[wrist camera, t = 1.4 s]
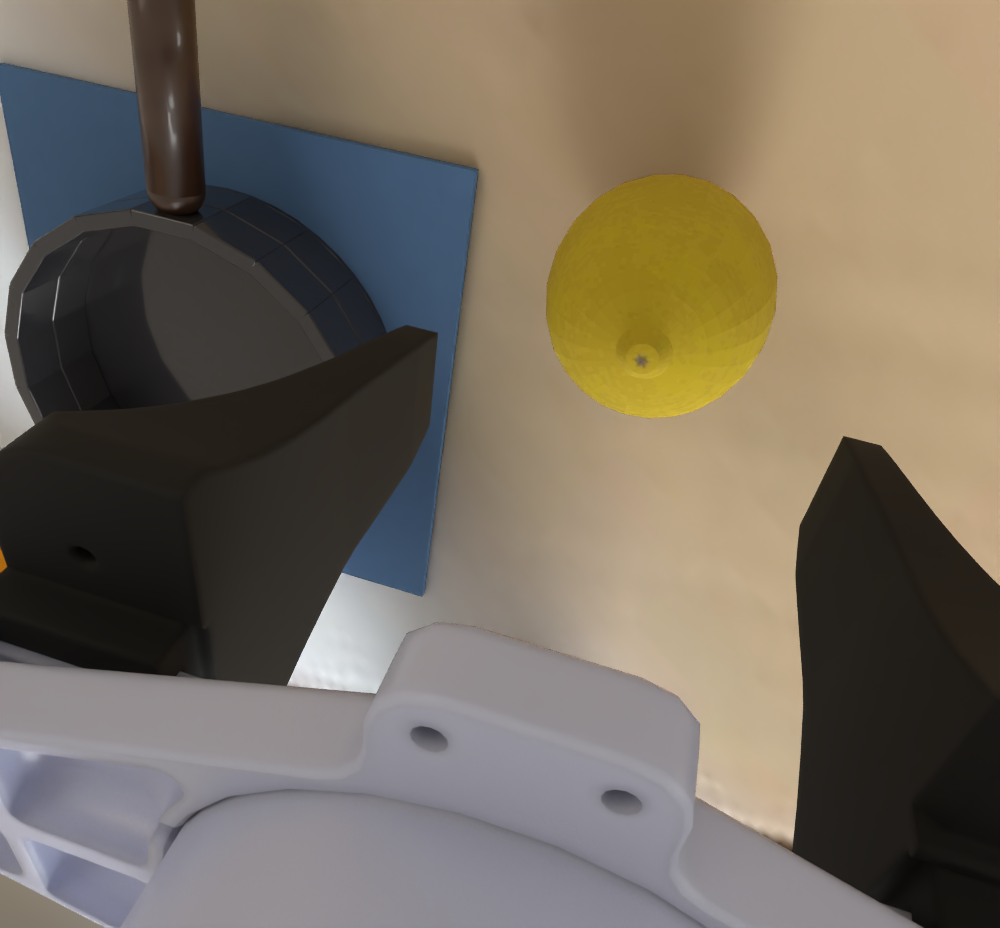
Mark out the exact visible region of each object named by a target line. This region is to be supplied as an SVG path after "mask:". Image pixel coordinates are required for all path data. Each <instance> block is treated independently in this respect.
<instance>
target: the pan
mask: <svg viewBox="0 0 1000 928" xmlns="http://www.w3.org/2000/svg"><path fill="white" fill-rule="evenodd" d="M386 333H387V332H386V329H385V327H384V324H383V321H382V319H381V317H380V315H379V313H378V311H377V310H376V308H375V306H374V304H373V302H372V300H371V298H370V296H369V295H368V293H367V292H366V290H365V289H364V287H363V286H362V284H361V283H360V281H359V280H358V278H357V277H356V276H355V274H354V273H353V272H352V271H351V270H350V268H349V267H348V266H347V265H346V264H345V262H344V261H343V260H342V259H341V258H340V256H339V255H338V254H337V253H336V252H335V251H334V250H333V249H332V248H330V247H329V246H328V245H327V244H326V243H325V242H324V241H323V240H322V239H321V238H320V237H319V236H318V235H316V234H315V233H314V232H313V231H311V230H310V229H309V228H307V227H306V226H305V225H303V224H302V223H301V222H300V221H298V220H297V219H295V218H294V217H292V216H290V215H289V214H287V213H285V212H284V211H282V210H280V209H279V208H277V207H275V206H273V205H271V204H269V203H267V202H265V201H262V200H260V199H258V198H256V197H254V196H251V195H248V194H245V193H242V192H238V191H235V190H232V189H229V188H224V187H218V186H211V185H206V196H205V200H204V203H203V205H202V207H201V208H200V209H199V210H198V211H197V212H196V213H194V214H191V215H185V216H175V215H168V214H165V213H162V212H160V211H159V210H158V209H157V208H156V207H155V206H154V205H153V204H152V203H151V201H150V200H149V197H148V195H147V191H146V190H142V191H139V192H137V193H134V194H131V195H129V196H126V197H123V198H121V199H118V200H115V201H113V202H110V203H107V204H105V205H102V206H99V207H97V208H94V209H91V210H89V211H86V212H83V213H81V214H78V215H75V216H73V217H72V218H70V219H68V220H67V221H65V222H64V223H62V224H61V225H59V226H58V227H56V228H54V229H53V230H51V231H50V232H48V233H47V234H45V235H44V236H42V237H40V238H39V239H37V240H36V241H34V243H33V244H32V246H31V247H30V249H29V251H28V253H27V254H26V256H25V258H24V260H23V261H22V263H21V265H20V267H19V268H18V270H17V272H16V274H15V275H14V277H13V279H12V281H11V283H10V286H9V295H8V305H7V315H6V324H5V339H6V343H7V348H8V352H9V357H10V361H11V366H12V371H13V375H14V380H15V384H16V386H17V389H18V391H19V393H20V395H21V397H22V399H23V401H24V403H25V405H26V407H27V409H28V411H29V413H30V415H31V417H32V419H33V421H34V423H35V425H36V424H37V423H38V422H40V421H41V420H42V419H44V418H45V417H46V416H48V415H49V414H50V413H52V412H53V411H91V410H117V409H130V408H140V407H150V406H159V405H166V404H174V403H181V402H187V401H192V400H197V399H202V398H207V397H212V396H217V395H222V394H227V393H232V392H236V391H240V390H244V389H247V388H251V387H254V386H258V385H261V384H265V383H268V382H271V381H274V380H278V379H280V378H283V377H286V376H289V375H292V374H294V373H297V372H299V371H302V370H304V369H307V368H309V367H312V366H314V365H317V364H319V363H322V362H324V361H327V360H329V359H332V358H334V357H336V356H338V355H341V354H343V353H345V352H347V351H349V350H352V349H354V348H356V347H358V346H360V345H362V344H365V343H367V342H369V341H371V340H373V339H375V338H377V337H379V336H381V335H384V334H386Z"/></svg>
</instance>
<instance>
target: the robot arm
mask: <svg viewBox="0 0 1000 928" xmlns="http://www.w3.org/2000/svg"><path fill="white" fill-rule="evenodd" d="M437 340H438V333H437V332H433V331H429V330H425V329H421V328H417V327H413V326H409V325H405V326H402V327H399V328H397V329H395V330H392V331H390V332H388V333H386V334H384V335H381V336H379V337H377V338H375V339H373V340H371V341H369V342H367V343H365V344H362V345H360V346H358V347H356V348H354V349H352V350H349V351H347V352H345V353H343V354H341V355H338V356H336V357H334V358H332V359H329V360H327V361H324V362H322V363H319V364H317V365H314V366H312V367H309V368H307V369H304V370H302V371H299V372H297V373H294V374H292V375H289V376H286V377H283V378H280V379H278V380H274V381H271V382H268V383H265V384H261V385H258V386H254V387H251V388H247V389H244V390H240V391H236V392H232V393H227V394H222V395H217V396H212V397H207V398H202V399H197V400H192V401H187V402H181V403H174V404H166V405H159V406H150V407H140V408H130V409H117V410H91V411H53V412H52V413H50V414H49V415H48V416H46V417H45V418H44V419H42V420H41V421H40V422H38V423H37V424H36V425H34V426H33V427H31V428H30V429H29V430H27V431H26V432H25V433H23V434H22V435H21V436H19V437H18V438H17V439H15V440H14V441H13V442H11V443H10V444H9V445H7V446H6V447H4V448H3V449H2V450H0V548H1V551H2V553H3V556H4V559H5V562H6V565H7V567H6V568H5V569H4V570H3V571H2V572H1V573H0V873H1V874H3V875H5V876H7V877H9V878H10V879H12V880H14V881H16V882H18V883H20V884H22V885H24V886H26V887H28V888H30V889H32V890H34V891H35V892H37V893H39V894H41V895H43V896H45V897H47V898H49V899H51V900H53V901H55V902H57V903H59V904H60V905H63V906H65V907H66V908H68V909H70V910H72V911H74V912H76V913H78V914H80V915H82V916H84V917H86V918H87V919H89V920H91V921H93V922H95V923H97V924H99V925H101V926H103V927H105V928H1000V586H999V585H998V584H997V583H996V582H995V581H994V580H993V579H992V578H991V577H990V576H989V575H988V574H987V573H986V572H985V571H984V570H983V569H982V568H981V567H980V565H979V564H978V563H977V562H976V561H975V560H974V559H973V558H972V557H971V556H970V554H969V553H968V552H967V551H966V550H965V549H964V548H963V547H962V546H961V545H960V543H959V542H958V541H957V540H956V539H955V538H954V537H953V535H952V534H951V533H950V532H949V531H948V529H947V528H946V527H945V526H944V525H943V523H942V522H941V521H940V520H939V519H938V517H937V516H936V515H935V514H934V512H933V511H932V510H931V509H930V507H929V506H928V505H927V504H926V502H925V501H924V500H923V498H922V497H921V496H920V495H919V493H918V492H917V491H916V489H915V488H914V487H913V485H912V484H911V483H910V481H909V480H908V479H907V477H906V476H905V475H904V474H903V472H902V471H901V470H900V468H899V467H898V466H897V464H896V463H895V462H894V461H893V459H892V458H891V457H890V456H889V454H888V453H887V452H886V451H885V450H884V449H883V447H882V446H880V445H876V444H873V443H869V442H865V441H861V440H857V439H853V438H849V437H845V436H843V438H842V440H841V442H840V445H839V447H838V449H837V451H836V453H835V455H834V457H833V459H832V461H831V463H830V465H829V467H828V469H827V471H826V473H825V475H824V477H823V479H822V481H821V483H820V485H819V487H818V489H817V492H816V494H815V496H814V498H813V500H812V502H811V504H810V506H809V508H808V510H807V512H806V514H805V516H804V518H803V520H802V522H801V524H800V528H799V538H798V548H797V561H796V592H797V608H798V622H799V636H800V649H801V663H802V677H803V721H802V740H801V758H800V771H799V785H798V798H797V810H796V820H795V830H794V840H793V850H792V852H791V851H789V850H788V849H786V848H784V847H782V846H781V845H779V844H777V843H775V842H774V841H772V840H770V839H769V838H767V837H765V836H763V835H762V834H760V833H758V832H756V831H755V830H753V829H751V828H749V827H748V826H746V825H744V824H742V823H741V822H739V821H737V820H736V819H734V818H732V817H730V816H729V815H727V814H725V813H723V812H722V811H720V810H718V809H716V808H715V807H713V806H711V805H709V804H708V803H706V802H704V801H702V800H701V799H699V798H697V797H696V796H695V794H696V782H697V771H698V759H699V742H700V723H699V722H698V721H697V719H696V718H695V717H694V716H693V714H692V713H691V712H690V711H689V709H688V708H687V707H686V706H685V704H684V703H683V702H682V701H681V699H680V698H679V697H678V696H676V695H675V694H673V693H671V692H669V691H667V690H665V689H663V688H661V687H659V686H657V685H655V684H653V683H651V682H649V681H647V680H645V679H643V678H641V677H638V676H635V675H632V674H628V673H625V672H622V671H618V670H615V669H612V668H609V667H605V666H602V665H599V664H596V663H592V662H589V661H586V660H582V659H579V658H576V657H573V656H569V655H566V654H563V653H559V652H556V651H553V650H550V649H546V648H543V647H540V646H537V645H533V644H530V643H527V642H523V641H520V640H517V639H514V638H510V637H507V636H504V635H501V634H497V633H494V632H491V631H487V630H484V629H481V628H478V627H474V626H465V625H457V624H448V623H433V624H430V625H428V626H425V627H422V628H419V629H416V630H414V631H411V632H408V633H407V634H406V636H405V638H404V639H403V641H402V643H401V645H400V647H399V649H398V651H397V652H396V654H395V656H394V658H393V660H392V662H391V665H390V667H389V669H388V671H387V673H386V675H385V677H384V679H383V681H382V683H381V685H380V687H379V689H378V691H377V693H376V694H373V693H361V692H350V691H338V690H327V689H315V688H304V687H292V686H287V684H288V682H289V679H290V677H291V675H292V673H293V671H294V668H295V666H296V664H297V662H298V660H299V657H300V655H301V653H302V651H303V649H304V647H305V645H306V643H307V640H308V638H309V636H310V634H311V632H312V630H313V628H314V626H315V624H316V622H317V620H318V618H319V616H320V614H321V612H322V610H323V608H324V606H325V604H326V602H327V600H328V598H329V596H330V594H331V592H332V590H333V588H334V586H335V584H336V582H337V580H338V578H339V576H340V574H341V572H342V570H343V569H344V567H345V565H346V563H347V562H348V560H349V558H350V557H351V555H352V553H353V552H354V550H355V548H356V547H357V545H358V544H359V542H360V541H361V540H362V538H363V537H364V535H365V534H366V532H367V531H368V529H369V528H370V526H371V525H372V523H373V522H374V520H375V519H376V517H377V516H378V514H379V513H380V511H381V510H382V508H383V507H384V505H385V504H386V503H387V501H388V500H389V498H390V497H391V495H392V494H393V492H394V491H395V489H396V488H397V486H398V485H399V483H400V481H401V480H402V478H403V477H404V475H405V474H406V472H407V471H408V469H409V468H410V466H411V464H412V462H413V460H414V458H415V456H416V454H417V452H418V450H419V448H420V445H421V443H422V441H423V439H424V437H425V435H426V432H427V430H428V428H429V426H430V417H431V406H432V395H433V384H434V373H435V362H436V351H437Z"/></svg>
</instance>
